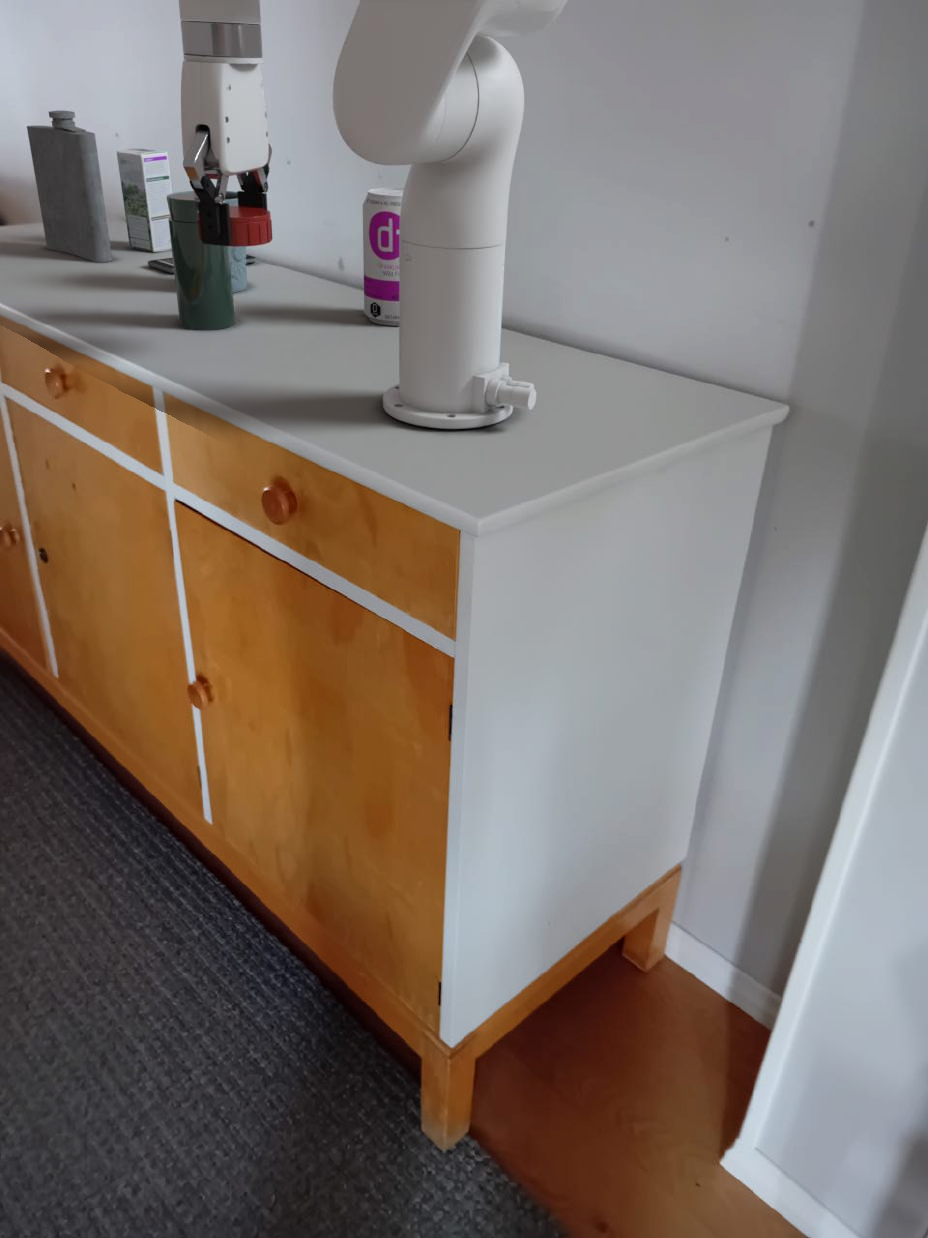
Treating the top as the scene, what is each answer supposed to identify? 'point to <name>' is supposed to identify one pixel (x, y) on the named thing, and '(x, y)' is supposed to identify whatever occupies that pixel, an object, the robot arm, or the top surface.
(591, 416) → the top surface
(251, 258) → the smartphone
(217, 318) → the jar
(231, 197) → the embossed blue cup
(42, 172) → the hip flask
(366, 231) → the supplement can
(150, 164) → the syrup box
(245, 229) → the lid
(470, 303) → the robot arm
